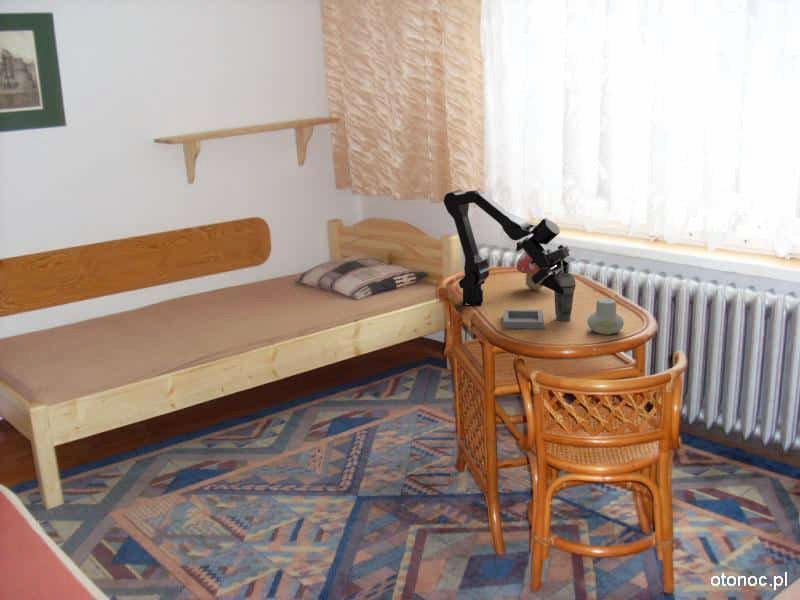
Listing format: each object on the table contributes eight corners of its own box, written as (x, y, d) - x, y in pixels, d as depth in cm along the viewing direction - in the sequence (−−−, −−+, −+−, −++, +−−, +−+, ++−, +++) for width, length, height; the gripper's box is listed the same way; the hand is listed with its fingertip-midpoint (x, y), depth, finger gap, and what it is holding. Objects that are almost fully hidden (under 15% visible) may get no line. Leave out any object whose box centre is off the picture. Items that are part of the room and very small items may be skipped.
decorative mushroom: (551, 296, 310) (552, 254, 305) (513, 294, 313) (514, 253, 309) (555, 285, 322) (556, 245, 318) (518, 284, 325) (519, 244, 321)
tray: (503, 329, 277) (503, 321, 276) (503, 316, 289) (503, 309, 288) (543, 329, 275) (544, 322, 275) (542, 317, 287) (542, 310, 287)
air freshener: (622, 328, 276) (623, 297, 273) (624, 336, 268) (625, 305, 265) (586, 326, 277) (587, 296, 274) (587, 335, 270) (588, 304, 267)
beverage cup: (574, 322, 281) (576, 261, 275) (551, 321, 283) (553, 261, 277) (574, 315, 288) (577, 256, 282) (552, 314, 289) (553, 255, 284)
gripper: (541, 243, 272) (573, 283, 270) (566, 232, 287) (597, 269, 284) (518, 265, 279) (548, 303, 276) (543, 252, 294) (573, 289, 291)
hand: (568, 290), depth 282 cm, fingers closed on beverage cup, 7 cm apart
